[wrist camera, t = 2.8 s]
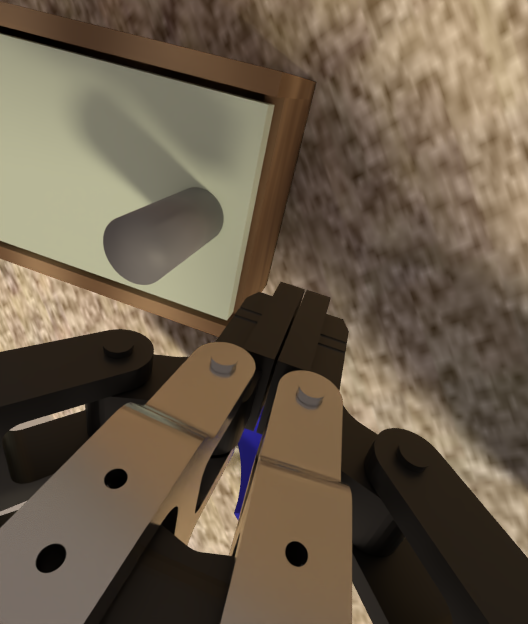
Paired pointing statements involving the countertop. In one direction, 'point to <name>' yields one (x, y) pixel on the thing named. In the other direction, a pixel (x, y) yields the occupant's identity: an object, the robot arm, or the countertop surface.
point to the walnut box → (203, 71)
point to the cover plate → (128, 172)
